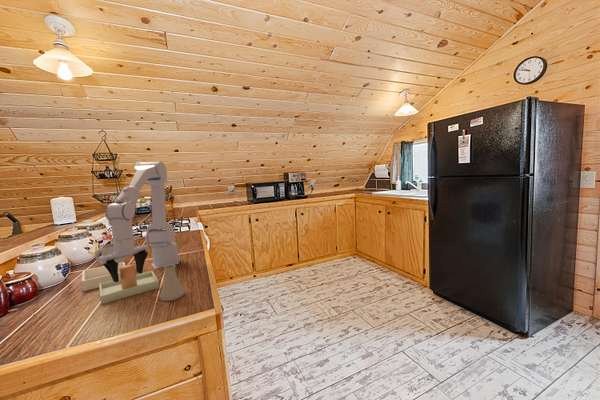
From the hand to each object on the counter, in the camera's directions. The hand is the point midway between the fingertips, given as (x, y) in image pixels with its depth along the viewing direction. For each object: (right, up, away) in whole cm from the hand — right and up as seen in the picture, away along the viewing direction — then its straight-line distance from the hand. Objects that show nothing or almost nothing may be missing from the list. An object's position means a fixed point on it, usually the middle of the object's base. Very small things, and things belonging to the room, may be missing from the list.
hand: (128, 276), depth 88 cm
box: (-14, -4, +8) cm, 17 cm away
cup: (-25, -3, +25) cm, 36 cm away
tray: (0, -4, +1) cm, 4 cm away
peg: (0, -3, +1) cm, 3 cm away
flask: (+18, -5, -6) cm, 19 cm away
